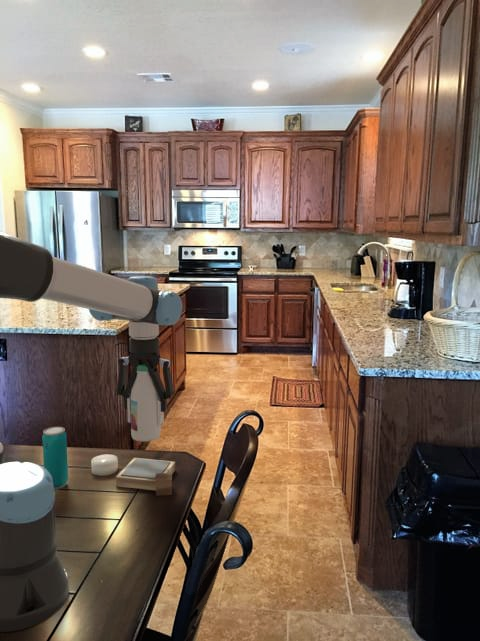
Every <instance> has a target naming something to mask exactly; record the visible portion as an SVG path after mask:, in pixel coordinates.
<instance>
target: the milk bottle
mask: <svg viewBox="0 0 480 641" xmlns="http://www.w3.org/2000/svg"><path fill="white" fill-rule="evenodd" d="M137 370H138V371H137V377H136V380H135V383H134V385H133V388H132V391H131V395H130V396H131V423H130V432H131V433H130V435H131V438H132V440H133V441H138V442H153V441H155V440H158V439H159V438H160V437H161V435H162V433H161V432H162V426H161V425H162V424H161V425H158V417H157V400H159V399H160V397H159V395H158V392H157V390H156V388H155V385H154V383H153V380H152V378H151V377H150V375H149V373H148V368H147V367H146V366H145V364H139V365H138V367H137Z"/></svg>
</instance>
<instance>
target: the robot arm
mask: <svg viewBox="0 0 480 641" xmlns="http://www.w3.org/2000/svg"><path fill="white" fill-rule="evenodd" d="M0 299H12V300H18V301H25V302H28V303H29V302H30V303H33V302H37V301H39V300H41V299H42V300H47V301H51V302H56V303H59V304H60V303H61V304H64V305H69V306H74V307H78V308H82V309H87V310H88V312H89V313H90V315H91V316H92V318H93V319H95V320H96V321H100V322H105V321H107V322H109V321H112V320H119V321H120V320H121V321H128V335H129V341H128V342H129V343H128V344H129V345H128V346H129V347H128V348H129V354H128V356H122V357H120V358H119V359H118V360H117V362H118V367H119V368H118V378H117V387H116V394H117V395H118V396H122V397H123V402H124V403H123V406H124V410H127V423H129V424H131V391H132V388H133V385H134V383H135V380H136V377H137V371H138V370H137V367H138V365H139V364H145V366H146V367H147V368H148V373H149V375H150V377H151V378H152V380H153V383H154V385H155V388H156V390H157V392H158V395H159V397H160V399H159V400H157V417H158V425H162V424H163V423H164V421H165V412H167V409H168V399H171V398H172V397H174V395H175V391H174V385H173V378H172V372H171V371H172V370H171V365H172V360H171V359H170V358H168V359H165V358H161V355H160V337H158V336H159V334H160V327H159V326H172V325H175V324H176V323H177V322H178V321H179V320H180V319H181V316H182V314H183V313H182V312H183V311H182V310H183V301H182V299H181V297H180V295H179V294H178V293H176V292H174V291H168V290H166V289H164V290H161V289H160V290H159V283H158V279H157V278H156V277H154V276H149V275H148V276H147V275H139V276H138V275H135V276H129V277H128V279H127V280H126V279H124V278H121V277H117V276H115V275H111V274H108V273H106V272H102V271H100V270H96V269H93V268H91V267H90V268H89V267H86V266H84V265H81V264H78V263H75V262H71V261H67V260H66V259H62V258H59V257H55V256H53V253H52V252H51V251H50V249H48V248H46V247H44V246H41V245H38V244H35V243H32V242H30V241H27V240H24V239H22V238H19V237H17V236H14V235H11V234H8V233H7V232H3V231H0ZM129 364H131V366H132V370H131V372H130V376H129V379H128V382H127V375H128V374H127V373H128V365H129ZM159 364H160V366H161V368H162V375H163V381H162V378H161V375H160V373H159V372H160V371H159V369H158V365H159ZM163 382H164V384H163ZM55 502H56V492H55V490H54V486H53V480H52V477H51V475H50V473H49V472H48V471H47V470H46V469H45V468H44V466H42V465H40V464H37V463H34V462H30V461H24V462H20V461H10V462H9V461H8V462H5V455H4V445H3V443H1V442H0V632H1V633H6V632H7V633H8V632H16V631H21V630H25V629H28V628H32V627H34V626H35V625H38V624H40V623H43V622H44V621H45V620H47V619H49V618H51V617H52V616H53V615H54V614H55V613H57V612H58V611H59V610H60V609H61V608H62V607H63V606H64V604H65V602H66V601H67V599H68V597H69V591H70V587H69V585H70V584H69V583H70V582H69V575H68V573H67V571H66V569H65V567H64V565H63V562H62V560H61V557H60V554H59V553H58V550H57V531H56V528H57V527H56V503H55Z"/></svg>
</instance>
